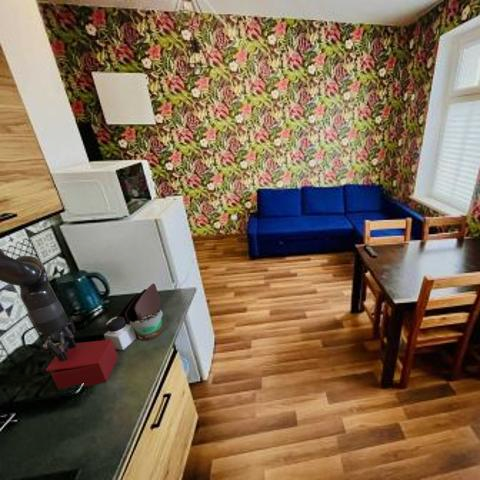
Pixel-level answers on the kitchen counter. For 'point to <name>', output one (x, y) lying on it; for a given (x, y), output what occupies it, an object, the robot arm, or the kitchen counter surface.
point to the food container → (148, 326)
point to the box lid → (81, 355)
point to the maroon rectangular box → (87, 372)
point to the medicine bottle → (120, 333)
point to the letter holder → (141, 305)
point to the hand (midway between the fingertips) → (68, 353)
